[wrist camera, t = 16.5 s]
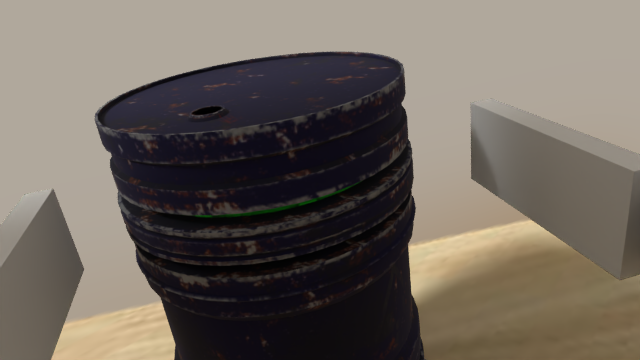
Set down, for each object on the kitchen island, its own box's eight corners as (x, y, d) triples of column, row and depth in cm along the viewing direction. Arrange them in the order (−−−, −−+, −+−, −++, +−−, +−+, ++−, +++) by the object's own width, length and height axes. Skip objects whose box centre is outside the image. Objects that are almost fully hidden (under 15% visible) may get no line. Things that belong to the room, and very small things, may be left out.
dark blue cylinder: (261, 326, 28) (201, 60, 22) (440, 349, 24) (427, 42, 18) (155, 498, 19) (8, 139, 13) (406, 570, 16) (363, 134, 10)
